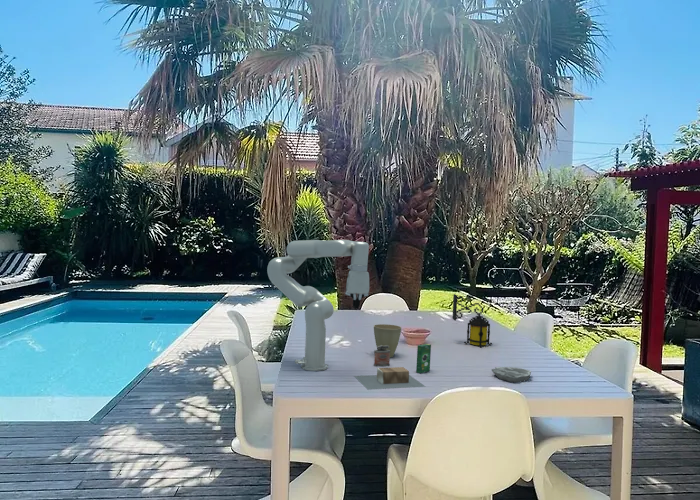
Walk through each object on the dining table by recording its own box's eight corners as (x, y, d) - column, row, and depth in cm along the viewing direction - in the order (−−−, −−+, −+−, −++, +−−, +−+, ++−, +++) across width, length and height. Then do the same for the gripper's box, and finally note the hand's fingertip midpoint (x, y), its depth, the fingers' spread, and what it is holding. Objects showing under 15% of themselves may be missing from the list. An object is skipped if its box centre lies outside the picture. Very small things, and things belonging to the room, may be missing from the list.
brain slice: (501, 370, 255) (501, 364, 255) (535, 377, 244) (536, 371, 244) (484, 378, 240) (484, 371, 240) (520, 386, 229) (520, 379, 229)
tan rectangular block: (382, 372, 220) (409, 371, 224) (377, 368, 227) (403, 367, 230) (381, 383, 220) (408, 382, 224) (376, 379, 227) (402, 378, 231)
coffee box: (425, 369, 250) (426, 342, 249) (430, 371, 248) (431, 343, 247) (415, 372, 244) (416, 345, 243) (420, 373, 242) (421, 346, 241)
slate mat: (367, 391, 212) (367, 389, 212) (353, 377, 231) (353, 376, 231) (425, 388, 219) (425, 386, 219) (407, 375, 238) (407, 373, 238)
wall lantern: (495, 348, 304) (497, 298, 303) (454, 347, 304) (457, 296, 303) (488, 342, 320) (490, 294, 319) (449, 341, 321) (452, 293, 320)
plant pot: (398, 360, 266) (400, 330, 265) (370, 358, 269) (371, 327, 268) (401, 354, 280) (402, 325, 280) (374, 351, 283) (375, 323, 283)
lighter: (375, 366, 252) (375, 346, 252) (372, 364, 255) (373, 344, 255) (390, 366, 254) (391, 346, 254) (388, 364, 258) (389, 344, 257)
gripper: (345, 268, 231) (342, 309, 232) (376, 270, 234) (373, 310, 235) (341, 266, 238) (338, 306, 239) (372, 268, 242) (369, 307, 243)
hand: (355, 308), depth 237 cm, fingers closed
